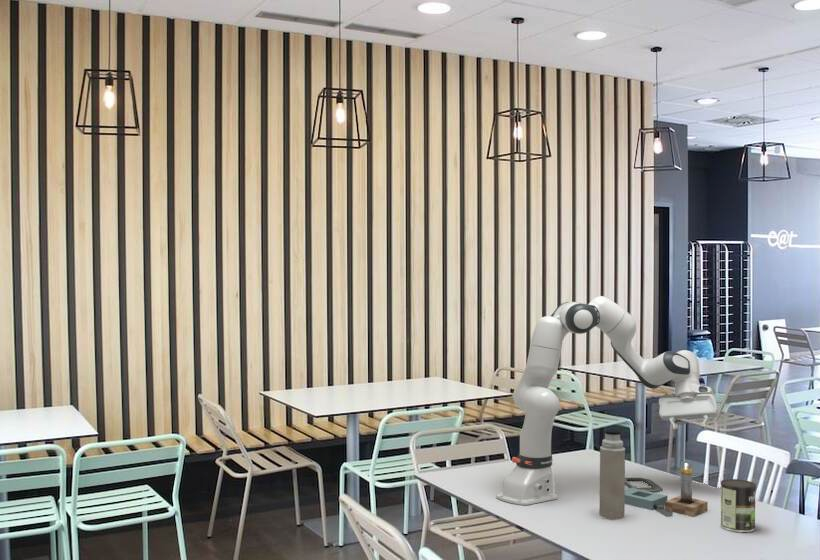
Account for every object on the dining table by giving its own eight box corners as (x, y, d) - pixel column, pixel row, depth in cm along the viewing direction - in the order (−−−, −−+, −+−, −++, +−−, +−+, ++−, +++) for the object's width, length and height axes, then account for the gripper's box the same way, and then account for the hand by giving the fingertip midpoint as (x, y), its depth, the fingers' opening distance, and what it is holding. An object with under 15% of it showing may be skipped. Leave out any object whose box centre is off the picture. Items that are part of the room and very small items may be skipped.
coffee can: (758, 526, 268) (758, 481, 268) (751, 535, 259) (752, 489, 259) (723, 520, 274) (724, 477, 273) (716, 529, 265) (717, 484, 264)
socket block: (692, 516, 277) (692, 507, 277) (664, 510, 284) (665, 501, 284) (707, 510, 284) (707, 501, 284) (679, 504, 291) (679, 495, 291)
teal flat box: (652, 510, 284) (652, 501, 284) (615, 501, 295) (615, 492, 294) (667, 504, 291) (667, 495, 291) (631, 495, 301) (631, 487, 301)
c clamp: (667, 496, 303) (668, 488, 303) (619, 496, 303) (619, 488, 303) (652, 481, 324) (652, 474, 324) (606, 481, 324) (606, 474, 324)
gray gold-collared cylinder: (688, 512, 282) (689, 464, 281) (678, 510, 284) (678, 462, 284) (694, 510, 284) (694, 462, 284) (683, 508, 287) (684, 461, 286)
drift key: (672, 516, 278) (672, 510, 278) (666, 516, 277) (666, 511, 277) (659, 509, 286) (659, 503, 286) (654, 509, 285) (654, 504, 285)
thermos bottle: (600, 510, 283) (601, 427, 283) (625, 513, 281) (626, 429, 280) (598, 517, 276) (598, 432, 275) (623, 520, 273) (624, 433, 273)
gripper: (656, 392, 309) (657, 427, 302) (715, 387, 300) (717, 423, 293) (660, 399, 314) (661, 434, 306) (718, 395, 305) (721, 430, 297)
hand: (689, 429), depth 299 cm, fingers open, 8 cm apart
